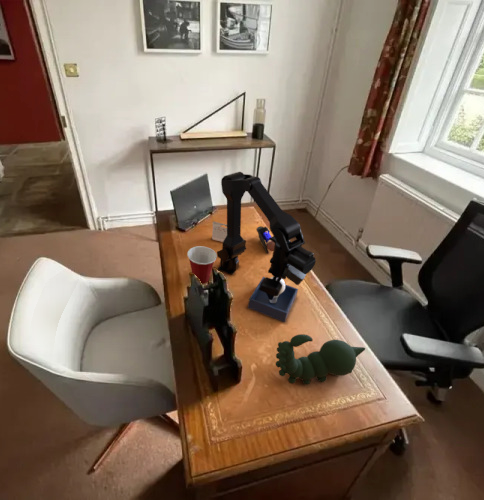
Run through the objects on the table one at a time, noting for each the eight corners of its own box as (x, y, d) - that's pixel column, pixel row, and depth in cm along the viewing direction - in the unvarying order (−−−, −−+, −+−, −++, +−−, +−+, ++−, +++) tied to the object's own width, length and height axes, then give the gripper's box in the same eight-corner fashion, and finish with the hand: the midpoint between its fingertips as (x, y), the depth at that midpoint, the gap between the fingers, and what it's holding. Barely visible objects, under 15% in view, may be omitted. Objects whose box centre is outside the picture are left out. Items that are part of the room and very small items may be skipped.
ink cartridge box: (213, 236, 145) (214, 218, 139) (236, 242, 141) (238, 224, 136) (211, 239, 143) (212, 221, 137) (234, 245, 139) (236, 227, 134)
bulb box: (248, 307, 110) (249, 298, 107) (261, 285, 119) (263, 276, 117) (284, 322, 105) (286, 313, 102) (295, 297, 114) (298, 288, 112)
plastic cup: (218, 286, 118) (220, 261, 111) (189, 290, 116) (189, 264, 109) (212, 268, 126) (213, 243, 119) (186, 271, 124) (185, 246, 117)
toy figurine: (281, 398, 85) (367, 380, 88) (287, 356, 74) (385, 337, 77) (270, 367, 93) (350, 352, 96) (274, 325, 82) (364, 309, 84)
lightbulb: (262, 295, 114) (265, 272, 108) (279, 295, 115) (284, 272, 108) (265, 308, 109) (270, 285, 102) (283, 308, 110) (289, 284, 103)
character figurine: (267, 236, 147) (277, 256, 135) (252, 236, 145) (261, 256, 134) (270, 222, 142) (282, 241, 131) (255, 222, 141) (265, 241, 129)
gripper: (298, 282, 90) (288, 319, 99) (314, 249, 104) (304, 284, 113) (261, 269, 94) (256, 306, 103) (281, 239, 108) (274, 274, 117)
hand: (274, 292), depth 109 cm, fingers open, 8 cm apart
